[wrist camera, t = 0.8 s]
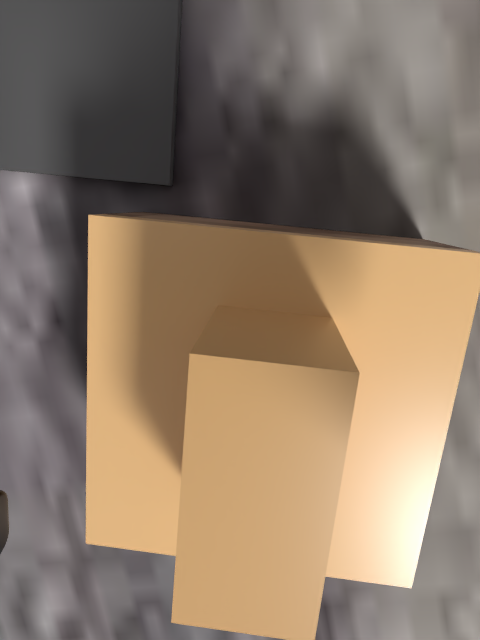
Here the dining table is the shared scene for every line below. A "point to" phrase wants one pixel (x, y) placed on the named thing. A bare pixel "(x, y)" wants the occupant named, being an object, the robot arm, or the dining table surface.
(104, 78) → the rubber mat
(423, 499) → the lid
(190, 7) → the dining table surface
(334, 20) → the dining table surface
